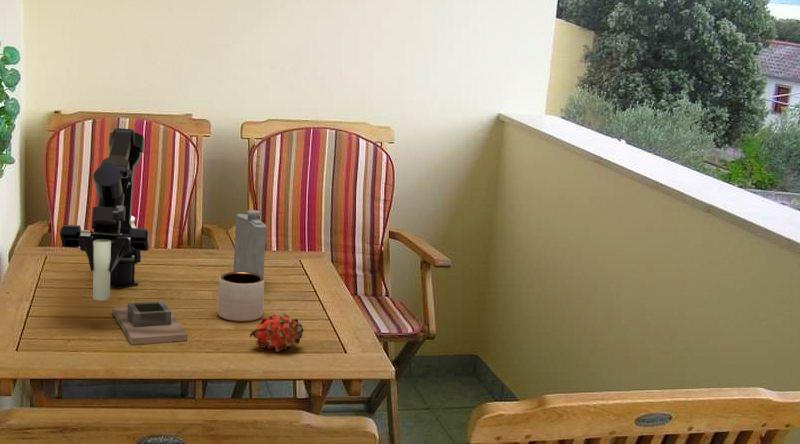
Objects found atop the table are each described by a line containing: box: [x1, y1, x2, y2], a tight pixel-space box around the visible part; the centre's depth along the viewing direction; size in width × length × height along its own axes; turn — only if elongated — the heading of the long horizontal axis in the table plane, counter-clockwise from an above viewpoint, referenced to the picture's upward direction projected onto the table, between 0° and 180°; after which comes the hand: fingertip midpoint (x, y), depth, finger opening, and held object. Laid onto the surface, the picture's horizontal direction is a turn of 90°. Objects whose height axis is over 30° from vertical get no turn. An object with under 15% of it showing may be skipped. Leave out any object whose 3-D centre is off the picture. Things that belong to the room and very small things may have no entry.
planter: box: [216, 271, 266, 323], centre depth 227 cm, size 11×11×10 cm
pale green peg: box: [92, 239, 111, 301], centre depth 209 cm, size 4×4×13 cm
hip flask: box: [232, 209, 267, 278], centre depth 253 cm, size 16×4×20 cm, turn 31°
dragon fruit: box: [249, 312, 305, 353], centre depth 208 cm, size 8×8×12 cm
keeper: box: [112, 301, 188, 346], centre depth 214 cm, size 22×12×4 cm, turn 27°
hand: (101, 270), depth 208 cm, fingers closed on pale green peg, 4 cm apart
